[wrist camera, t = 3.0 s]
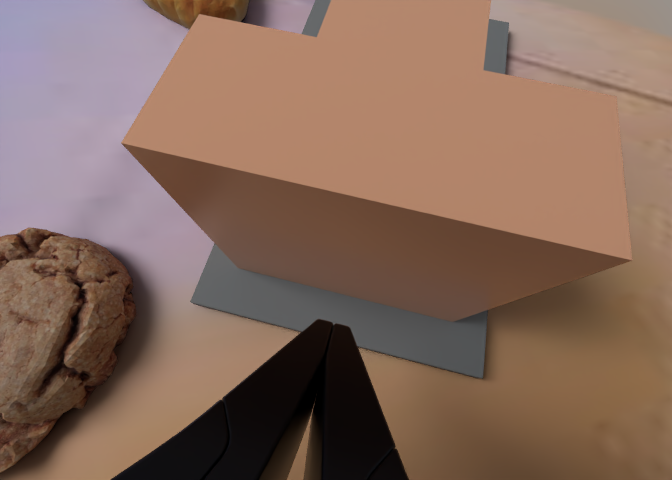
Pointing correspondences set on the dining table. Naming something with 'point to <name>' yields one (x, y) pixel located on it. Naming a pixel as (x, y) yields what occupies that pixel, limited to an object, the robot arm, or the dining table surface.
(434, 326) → the board
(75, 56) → the dining table surface
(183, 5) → the pastry
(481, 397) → the dining table surface
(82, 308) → the cookie
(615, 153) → the tee
